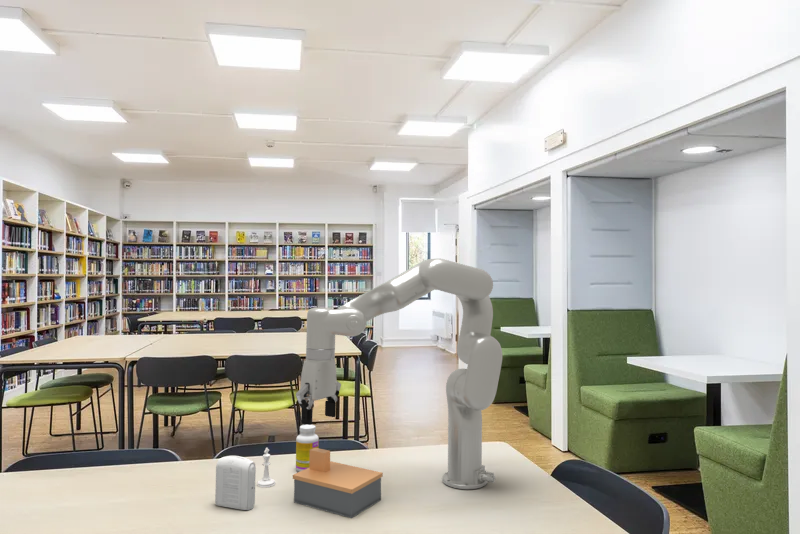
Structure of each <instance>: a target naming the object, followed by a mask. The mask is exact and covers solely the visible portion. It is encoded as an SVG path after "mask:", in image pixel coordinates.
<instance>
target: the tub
mask: <svg viewBox="0 0 800 534" xmlns="http://www.w3.org/2000/svg"><path fill="white" fill-rule="evenodd" d="M293 480H294V481H293V486H294V488H293V490H294V491H293V502H294V503H295V504H299V505H303V506H306V507H310V508H313V509H316V510H320V511H324V512H327V513H331V514H334V515H337V516H338V515H339V516H342V517H345V518H349V519H353V518H354V517H355V516H357V515H359V514H361V513H362V512H364V511H365V510H367V509H369V508H370V507H372V506H374V505H375V504H377V503H378V502H380V501H381V500H382V477H381V478H379V479H377V480H376V481H374V482H372V483H370V484H369V485H367V486H365V487H363V488H361V489H360V490H358V491H356V492H354V493H352V494H351V493H347V492H343V491H339V490H335V489H331V488H327V487H323V486H319V485H315V484H311V483H307V482H303V481H299V480H295V479H293Z"/></svg>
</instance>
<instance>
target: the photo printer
mask: <svg viewBox="0 0 800 534" xmlns="http://www.w3.org/2000/svg"><path fill="white" fill-rule="evenodd" d="M256 469H257V468H256V462H254V461H253V460H252V459H249V458H246V457H244V456H239V455H226V456H223V457H221V458H218V460H217V461H216V466H215V494H214V496H215V497H214V504H215V505H216V506H219V507H224V508H229V509H236V510H242V511H249V510H252V509H253V508H254V507H255V503H256V472H257V471H256Z"/></svg>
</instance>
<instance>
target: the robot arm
mask: <svg viewBox="0 0 800 534" xmlns="http://www.w3.org/2000/svg"><path fill="white" fill-rule="evenodd" d="M493 288H494V281H493V278H492V276H491V274H489V273H488V272H487V271H486V270H484V269H483V268H478V267H474V266H470V265H466V264H463V263H458V262H455V261H451V260H449V259H444V258H429V259H425V260H424V259H423V260H422V261H421V262H418V263H417V264H414V266H412V267H409V268H408V269H407V270H404V271H403V272H401V273H399V274H398V275H396V276H395V277H392V278H391V279H389V280H387V281H385V282H384V283H381V284H380V285H377V286H376V287H374V288H372V289H370V290H368V291H367V292H364V293H362V294H360V295H359V296H356V297H355V298H354V299H351V300H350V301H348V302H346V303H344V304H342V305H341V306H339V307H338V308H337V309H333V308H330V307H312V308H310V309H308V310H307V315H306V339H305V340H306V343H305V345H306V347H305V360H304V361H303V364H302V371H301V376H300V386H299V387H300V388H299V390H298V391H296V393H295V397H296V399H297V404H298V405H299V408H300V409H301V413H300V414H301V415H300V416H301V417H300V418H301V419H300V423H301V424H302V425H313V408H312V407H313V404H314V403H315V401H319V400H323V399H326V400H325V402H324V404H325V405H324V416H326V417H330V418H336V412H337V411H336V410H337V402H338V396H339V395H340V390H341V387H342V383H341V382H339V381H338V380H337V365H336V359H335V357H336V355H335V354H336V353H335V351H336V336H343V337H356V336H359V335H361V334H362V333H363V332H364V331H365V329H366V328H367V322H369V321H371V320H372V319H374V318H376V317H378V316H380V315H383V314H387V313H392V312H397V311H400V310H402V309H404V308H405V307H407V306H409V305H411V304H412V303H414V302H415V301H417V300H419V299H420V298H422V297H425V296H426V295H427V294H429V293H431V292H433V291H440V292H444V293H448V294H451V295H455V296H456V297H457V298H458V299H459V301H460V304H461V306H462V319H461V320H462V321H461V327H460V329H459V330H460V331H459V334H458V335H459V337H458V341H457V346H456V354H457V357H458V359H459V360H460V361H461V362H462V363H463V364H466V365H467V367H466V368H458V369H455V370H453V371H452V372H451V373H450V374H449V376H448V377H447V379H446V382H445V383H446V384H445V394H446V403H447V413H448V414H447V415H448V418H447V419H448V420H447V424H448V426H447V472H445V473H443V475H442V477H441V479H442V483H443V484H444V485H446V486H448V487H450V488H453V489H454V488H455V489H460V490H476V489H481V488H483V487H485V486H486V485H487V484H488V483H495V481H496V475H495V473H494V472H492V471H491V472H490V471H487V470H486V465H483V464H482V463H483V459H482V457H483V448H482V447H483V411H484V410H486V409H488V408H489V407H490V406H491V405H492V404H493V402H494V400H495V397H496V396H497V390H498V385H499V379H500V375H501V371H502V370H501V369H502V363H503V350H502V347H501V343H500V342H499V341H498V340H497V339H496V338H495V337H494V336H492V335H491V333H492V326H493V318H494V309H493V303H492V301H491V298H490V294H492V291H493Z"/></svg>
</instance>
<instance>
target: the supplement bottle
mask: <svg viewBox="0 0 800 534" xmlns="http://www.w3.org/2000/svg"><path fill="white" fill-rule="evenodd" d="M316 430H317V429H316V425H314V424H311V425H307V424H302V425H300V426H299V434H298V435H297V436H296V440H295V441H296V442H295V446H296V447H295V470H296V471H297V473H298V472H300V471H303V470H305V469H307V468H309V458H310V450H311V449H313V448H319V444H320V443H319V442H320V438H319V436H318V434H316ZM319 449H320V448H319Z"/></svg>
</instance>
